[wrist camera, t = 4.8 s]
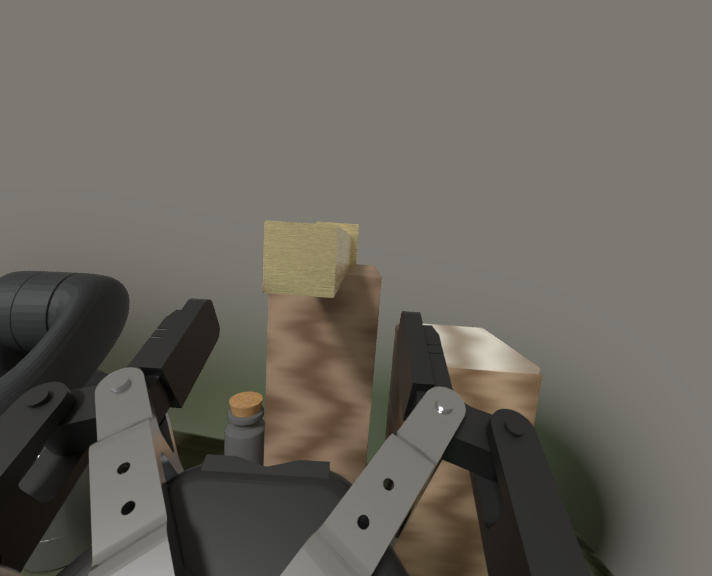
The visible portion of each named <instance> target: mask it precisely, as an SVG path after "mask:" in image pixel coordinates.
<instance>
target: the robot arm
mask: <svg viewBox="0 0 712 576" xmlns="http://www.w3.org/2000/svg"><path fill="white" fill-rule="evenodd" d="M128 313H129V295H128V292H127V290H126V288H125V287H124V286H123V284H121V283H120V282H119V281H118V280H115V279H114V278H111V277H107V276H103V275H97V274H87V273H67V272H45V271H20V272H13V273H9V274H6V275H4V276H2V277H1V278H0V576H21V575H20V572H21V571H22V569H23V568H25V569H26V570H29V571H32V572H44V571H51V570H55V569H58V568H61V567H64V566H67V565H68V566H67V567H66V568H64V569H63V570H62V571H61V572H60V573H58V574H57V575H56V576H409V574H408V572H407V571H406V569H405V567H404V566H403V564H402V562H401V561H400V559H399V557H398V556H397V554H396V552H395V551H394V549H393V548H394V546H395V544H396V542H397V541H398V539H399V537H400V535H401V533H402V532H403V530H404V528H405V526H406V525H407V523H408V521H409V519H410V518H411V516H412V514H413V512H414V510H415V508H416V506H417V504H418V503H419V501H420V499H421V497H422V495H423V494H424V492H425V490H426V488H427V487H428V485H429V483H430V481H431V480H432V478H433V476H434V474H435V473H436V471H437V469H438V467H439V466H440V464H441V462H442V460H444V461H446V462H449V463H451V464H454V465H456V466H459V467H461V468H463V469H466V470H468V471H469V473H470V479H471V484H472V490H473V495H474V500H475V506H476V511H477V517H478V522H479V528H480V533H481V539H482V544H483V550H484V555H485V561H486V566H487V572H488V576H591V575H590V573H589V570H588V567H587V565H586V562H585V560H584V557H583V554H582V552H581V549H580V546H579V544H578V541H577V538H576V536H575V533H574V531H573V528H572V525H571V523H570V520H569V518H568V515H567V512H566V510H565V507H564V504H563V502H562V499H561V496H560V494H559V491H558V489H557V486H556V483H555V481H554V478H553V475H552V473H551V470H550V467H549V465H548V462H547V460H546V457H545V454H544V452H543V449H542V446H541V444H540V441H539V438H538V436H537V433H536V431H535V429H534V427H533V425H532V424H531V422H530V421H529V420H528V419H527V418H526V417H524V416H523V415H522V414H520V413H519V412H516V411H514V410H511V409H499V410H497V411H495V412H494V413H493V415H492V414H490V413H487V412H484V411H481V410H479V409H476V408H473V407H471V406H469V405H467V404H466V403H464V401H463V400H462V398H461V397H460V396H459V395H458V394H457V393H456V392H454V390H453V388H452V384H451V380H450V376H449V372H448V368H447V364H446V360H445V356H444V352H443V348H442V344H441V340H440V336H439V334H438V333H437V331H436V330H435V329H434V327H433V326H432V325H423V323H422V318H421V314H420V312H407V311H402V313H401V318H400V323H399V329H398V334H397V341H396V352H397V363H398V374H399V385H400V396H401V407H402V418H403V421H405V422H404V423H403V425H402V426H401V428H400V429H399V430H398V431H397V432H396V433H392V434H391V435H390V436H389V437H388V438H387V440H386V441H385V442H384V444H383V445H382V446H381V448H380V449H379V450H378V452H377V453H376V454H375V456H374V457H373V458H372V460H371V461H370V462H369V464H368V465H367V466H366V468H365V469H364V470H363V472H362V473H361V474H360V476H359V477H358V478H357V480H356V481H355V482H354V483H353V484H352V483H351V482H350V481H348V480H347V479H346V478H344V477H343V476H341V475H339V474H337V473H335V472H333V471H330V462H326V461H310V460H297V461H292V462H287V463H282V464H278V465H273V466H262V465H260V464H257V463H254V462H252V461H249V460H246V459H244V458H241V457H238V456H228V455H212V454H207V455H206V457H205V460H204V462H203V464H201V465H197V466H194V467H192V468H189V469H187V470H185V471H184V470H183V467H182V465H181V463H180V460H179V457H178V453H177V449H176V445H175V441H174V437H173V433H172V429H171V425H170V421H169V417H168V415H167V411H168V409H169V407H172V408H173V407H174V408H182V406H183V404H184V402H185V401H186V399H187V397H188V395H189V393H190V391H191V389H192V387H193V385H194V384H195V381H196V380H197V378H198V376H199V374H200V372H201V370H202V369H203V366H204V365H205V363H206V361H207V359H208V357H209V355H210V353H211V351H212V350H213V348H214V346H215V344H216V342H217V340H218V337H219V332H220V328H219V323H218V320H217V316H216V313H215V309H214V306H213V303H212V301H211V300H208V299H193V298H192V299H189V300H188V301H187V303H186V304H185V305H184V307H183V308H182V310H176V311H174V312H173V313H171V314H170V315H169V316H167V317H166V318H165V319H164V320H163V321H162V322H161V324H160V325H159V326H158V328H157V330H155V332H154V333H153V334H152V336H151V338H149V339H148V341H147V342H146V343H145V344H144V346H143V347H142V348H141V350H140V351H139V352H138V353H137V355H136V356H135V357H134V359H133V360H132V361H131V363H130V364H129V365H128V366H127V368H123V369H120V370H117V371H115V372H113V373H111V374H109V375H108V374H107V373H105V372H103V371H101V370H98V369H97V368H98V367H99V366H100V364H101V363H102V362H103V360H104V359H105V357H106V356H107V354H108V353H109V352H110V350H111V349H112V347H113V346H114V344H115V343H116V341H117V339H118V337H119V336H120V334H121V332H122V330H123V328H124V325H125V323H126V320H127V317H128Z"/></svg>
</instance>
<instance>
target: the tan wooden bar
mask: <svg viewBox="0 0 712 576" xmlns="http://www.w3.org/2000/svg"><path fill="white" fill-rule="evenodd" d="M358 232H359V225H357V224H343V223H328V222H317V224H307V223H293V222H279V221H265V227H264V263H263V264H264V265H263V293H270V294H284V295H297V296H311V297H325V298H334V296H335V294H336V293H337V291H338V289H339V287H340V285H341V283H342V281H343V279H344V277H345V275H346V273H347V271H348V269H349V267H350V266H354V267H356V260H357V246H358Z"/></svg>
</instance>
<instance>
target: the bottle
mask: <svg viewBox="0 0 712 576" xmlns="http://www.w3.org/2000/svg"><path fill="white" fill-rule="evenodd" d="M262 401H263V396H262V395H261V394H259V393H256V392H242V393H239V394H236V395H234V396H232V397H231V398H230V401H229V403H230V407H231V408H230V409H229V411H228V421H229V422H230V423H229V424H228V425H227V426H226V428H225V446H224V455H228V456H238V457H241V458H244V459H246V460H249V461H252V462H254V463H257V464H260V465H262V466H264V437H265V421H264V420H263V419H262V418H263V416H264V408H263V406H262Z"/></svg>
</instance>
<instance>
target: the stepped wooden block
mask: <svg viewBox="0 0 712 576" xmlns="http://www.w3.org/2000/svg"><path fill="white" fill-rule="evenodd" d="M380 291H381V275H380V273H379V272H378V270H377V269H376V267H375V266H371V265H357V264H356V267H354V266H350V267H349V269H348V271H347V273H346V275H345V277H344V279H343V281H342V283H341V285H340V287H339V289H338V291H337V293H336V294H335V296H334V298H325V297H311V296H297V295H284V294H270V293H269V306H268V339H267V372H266V406H265V437H264V466H273V465H278V464H282V463H287V462H292V461H297V460H310V461H326V462H330V471H333V472H335V473H337V474H339V475H341V476H343V477H344V478H346V479H347V480H348V481H350V482H351V483H352V484H353V483H354V482H355V481H356V480H357V478H358V477H359V476H360V474H361V473H362V472H363V470H364V469H365V468H366V459H367V447H368V435H369V423H370V411H371V398H372V387H373V374H374V363H375V351H376V339H377V327H378V315H379V302H380ZM399 323H400V322H398V324H397V326H396V328H395V339H394V351H393V361H392V372H391V382H390V394H389V405H388V415H387V426H386V438H385V441H386V440H387V438H388V437H389V436H390V435H391V434H392V433H396V432H397V431H398V430H399V429H400V428H401V426H402V425H403V423H404V422H405V421H403V418H402V407H401V396H400V385H399V374H398V363H397V352H396V341H397V334H398V329H399ZM423 325H432V326H433V327H434V329H435V330H436V331H437V333H438V334H439V336H440V340H441V344H442V348H443V352H444V356H445V360H446V364H447V368H448V372H449V376H450V380H451V384H452V388H453V390H454V392H456V393H457V394H458V395H459V396H460V397H461V398H462V400H463V401H464V403H466V404H467V405H469V406H471V407H473V408H476V409H479V410H481V411H484V412H487V413H490V414H492V415H493V413H494V412H495V411H497V410H499V409H511V410H514V411H516V412H519V413H520V414H522V415H523V416H524V417H526V418H527V419H528V420H529V421H530V422H531V424H532V425H533V427H534V422H535V415H536V410H537V404H538V398H539V392H540V386H541V380H542V375H541V374H540V373H539V370H540V368H539V367H538V366H536V365H535V364H533V363H532V362H531V361H529V360H528V359H526V358H525V357H523V356H522V355H520V354H519V353H517V352H516V351H515V350H513V349H512V348H510V347H509V346H508V345H506V344H505V343H503V342H502V341H500V340H499V339H498V338H496V337H495V336H493V335H492V334H490V333H489V332H487V331H486V330H485V329H483V328H474V327H460V326H446V325H433V324H423ZM393 549H394V551H395V552H396V554H397V556H398V557H399V559H400V561H401V562H402V564H403V566H404V567H405V569H406V571H407V572H408V574H409V576H488V572H487V566H486V561H485V555H484V550H483V544H482V539H481V533H480V528H479V522H478V517H477V511H476V506H475V500H474V495H473V490H472V484H471V479H470V473H469V471H468V470H466V469H463V468H461V467H459V466H456V465H454V464H451V463H449V462H446V461H444V460H442V462H441V464H440V466H439V467H438V469H437V471H436V473H435V474H434V476H433V478H432V480H431V481H430V483H429V485H428V487H427V488H426V490H425V492H424V494H423V495H422V497H421V499H420V501H419V503H418V504H417V506H416V508H415V510H414V512H413V514H412V516H411V518H410V519H409V521H408V523H407V525H406V526H405V528H404V530H403V532H402V533H401V535H400V537H399V539H398V541H397V542H396V544H395V546H394V548H393Z"/></svg>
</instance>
